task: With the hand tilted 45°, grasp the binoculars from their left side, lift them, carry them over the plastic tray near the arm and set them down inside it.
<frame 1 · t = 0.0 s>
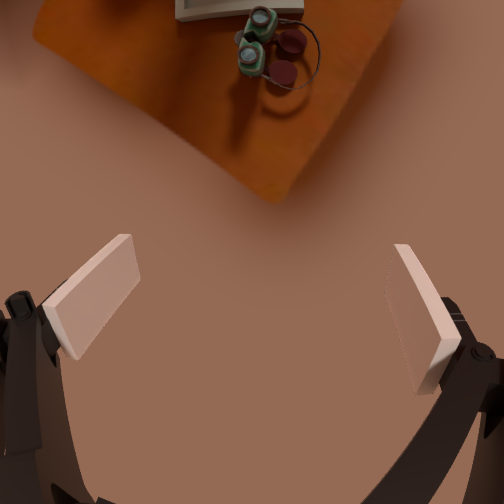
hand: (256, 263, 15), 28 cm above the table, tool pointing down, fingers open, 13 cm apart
binoculars: (281, 54, 34), on the table
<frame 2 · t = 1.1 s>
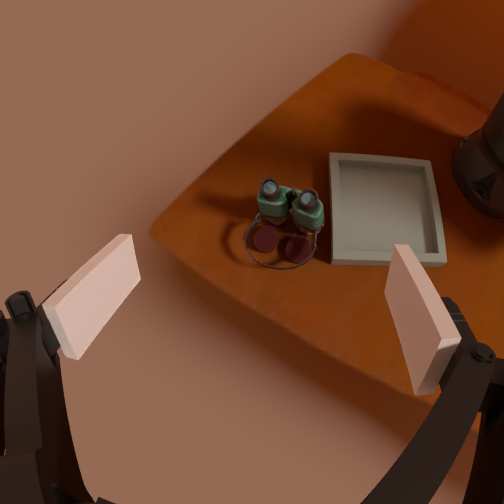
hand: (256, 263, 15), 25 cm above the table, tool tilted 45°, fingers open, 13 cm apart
tray: (384, 211, 42), on the table
binoculars: (286, 242, 42), on the table
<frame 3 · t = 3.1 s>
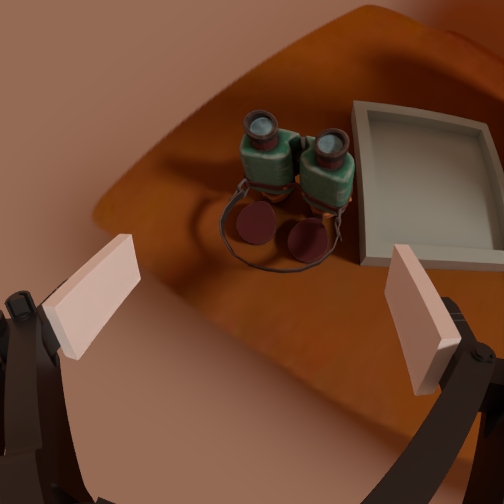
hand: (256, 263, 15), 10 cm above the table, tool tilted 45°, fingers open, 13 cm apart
tray: (434, 188, 26), on the table
binoculars: (289, 228, 27), on the table
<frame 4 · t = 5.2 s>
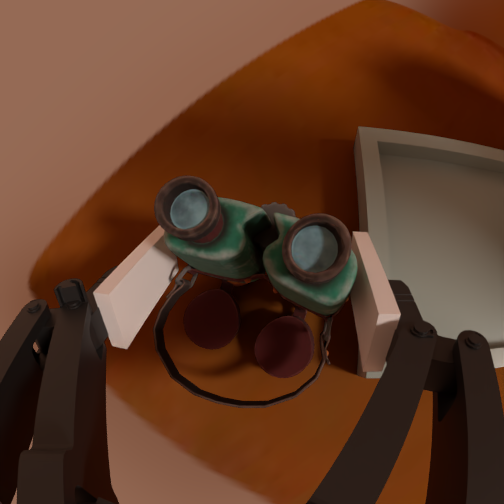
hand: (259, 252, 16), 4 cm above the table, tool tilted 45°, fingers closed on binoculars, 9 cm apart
tray: (464, 253, 18), on the table
binoculars: (259, 322, 19), on the table, touching gripper
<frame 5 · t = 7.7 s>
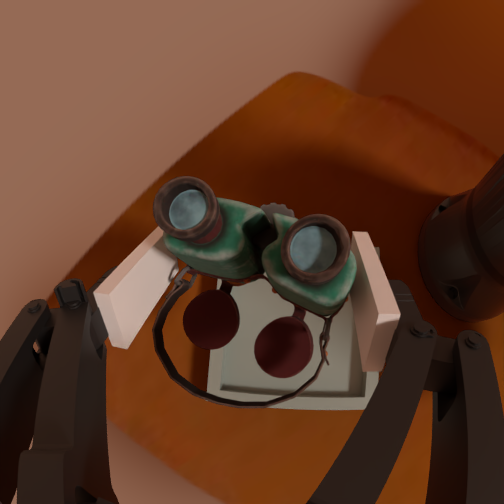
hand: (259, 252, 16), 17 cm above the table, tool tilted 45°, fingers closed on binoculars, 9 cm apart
tray: (297, 327, 31), on the table
binoculars: (258, 322, 19), point 13 cm above the table, touching gripper
when the fingers open (6 cm above the table, at t = 10.5 s): binoculars drops 1 cm, resting on tray.
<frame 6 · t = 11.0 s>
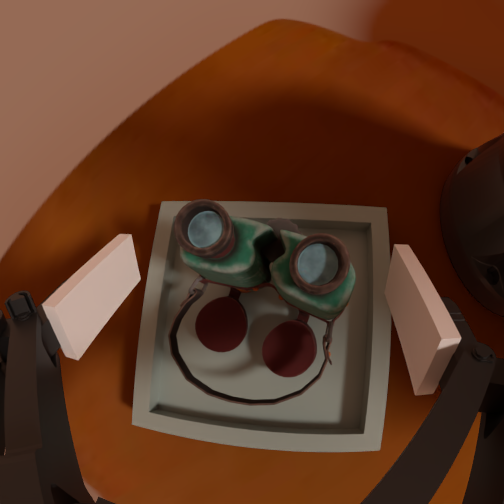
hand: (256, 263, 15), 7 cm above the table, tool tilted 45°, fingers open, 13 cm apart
tray: (265, 325, 21), on the table
binoculars: (265, 326, 20), point 1 cm above the table, touching tray
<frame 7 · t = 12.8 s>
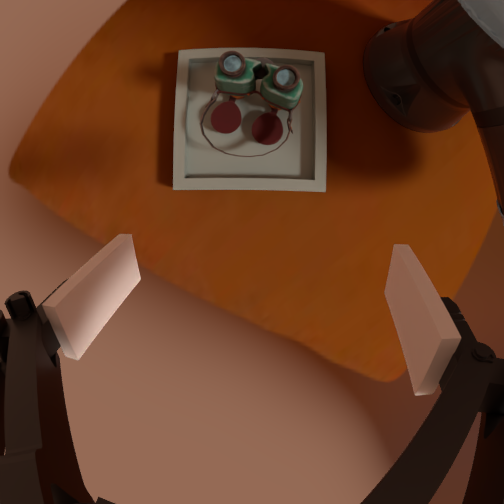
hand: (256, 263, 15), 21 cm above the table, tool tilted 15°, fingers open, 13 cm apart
tray: (250, 119, 33), on the table
binoculars: (251, 118, 32), point 1 cm above the table, touching tray
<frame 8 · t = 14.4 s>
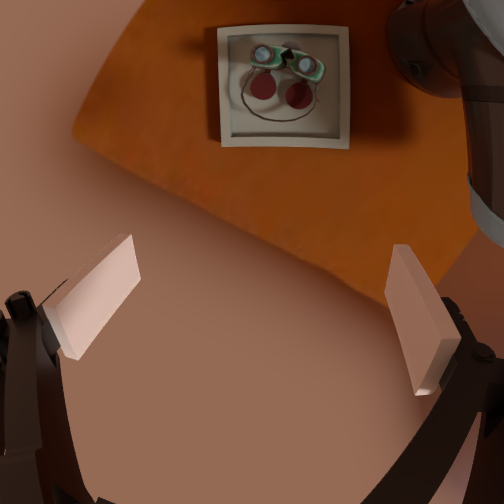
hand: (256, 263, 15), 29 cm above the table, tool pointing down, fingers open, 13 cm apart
tray: (285, 84, 36), on the table
binoculars: (285, 85, 35), point 1 cm above the table, touching tray
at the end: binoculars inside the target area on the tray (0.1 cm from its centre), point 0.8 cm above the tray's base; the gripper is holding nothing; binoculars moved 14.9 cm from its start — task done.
